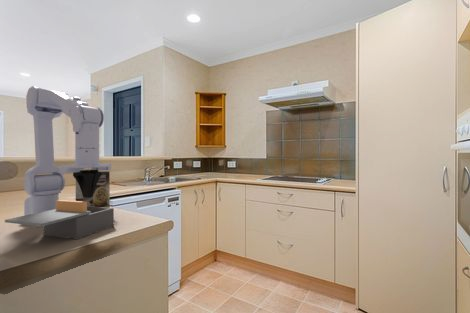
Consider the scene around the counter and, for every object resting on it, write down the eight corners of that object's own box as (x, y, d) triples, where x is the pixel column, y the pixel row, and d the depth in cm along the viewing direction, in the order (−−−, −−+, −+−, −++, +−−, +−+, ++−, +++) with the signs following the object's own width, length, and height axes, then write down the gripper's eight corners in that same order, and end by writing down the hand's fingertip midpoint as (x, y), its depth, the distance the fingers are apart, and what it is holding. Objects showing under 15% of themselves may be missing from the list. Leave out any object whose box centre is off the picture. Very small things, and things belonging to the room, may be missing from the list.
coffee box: (90, 220, 77) (90, 172, 77) (74, 219, 79) (74, 172, 79) (110, 214, 86) (110, 170, 86) (95, 213, 88) (95, 170, 88)
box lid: (4, 222, 55) (4, 208, 55) (58, 210, 67) (58, 199, 67) (41, 226, 51) (41, 212, 51) (91, 213, 63) (90, 201, 63)
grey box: (43, 235, 63) (43, 215, 63) (84, 223, 75) (83, 206, 75) (76, 239, 60) (76, 218, 60) (113, 226, 71) (113, 208, 71)
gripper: (73, 148, 57) (73, 203, 57) (119, 149, 71) (119, 193, 71) (52, 148, 59) (53, 201, 59) (101, 149, 73) (101, 192, 73)
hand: (87, 197), depth 65 cm, fingers closed
